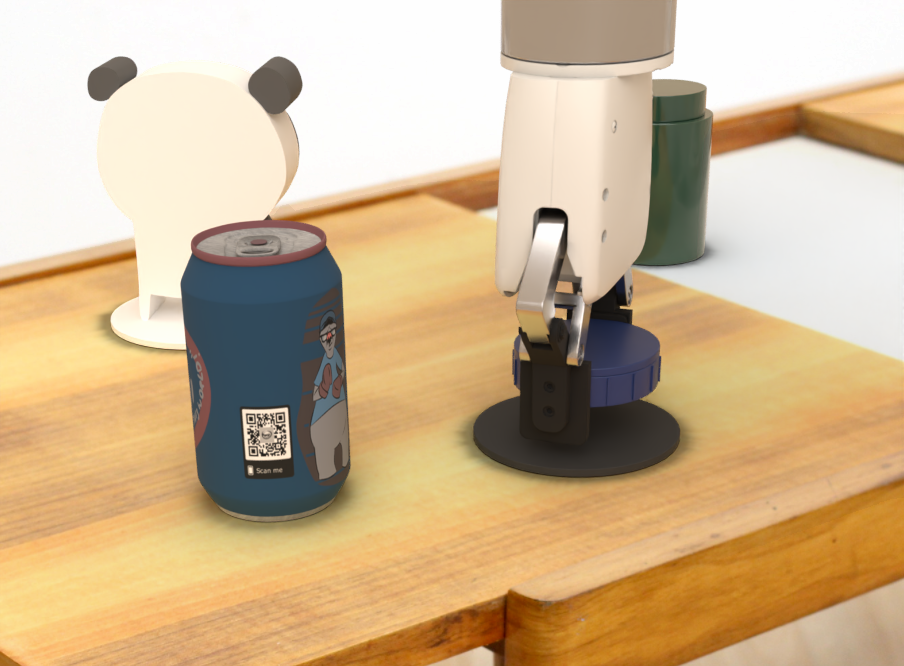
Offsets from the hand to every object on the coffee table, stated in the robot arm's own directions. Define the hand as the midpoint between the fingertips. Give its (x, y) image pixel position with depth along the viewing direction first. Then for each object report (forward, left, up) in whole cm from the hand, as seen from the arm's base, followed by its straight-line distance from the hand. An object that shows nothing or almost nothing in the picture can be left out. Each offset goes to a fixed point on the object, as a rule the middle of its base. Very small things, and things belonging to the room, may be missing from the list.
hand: (576, 408), depth 75 cm
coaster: (0, 0, -1) cm, 1 cm away
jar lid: (0, 0, +3) cm, 3 cm away
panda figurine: (+17, -22, -2) cm, 28 cm away
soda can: (+15, +4, -2) cm, 16 cm away
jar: (-13, -29, -1) cm, 32 cm away
